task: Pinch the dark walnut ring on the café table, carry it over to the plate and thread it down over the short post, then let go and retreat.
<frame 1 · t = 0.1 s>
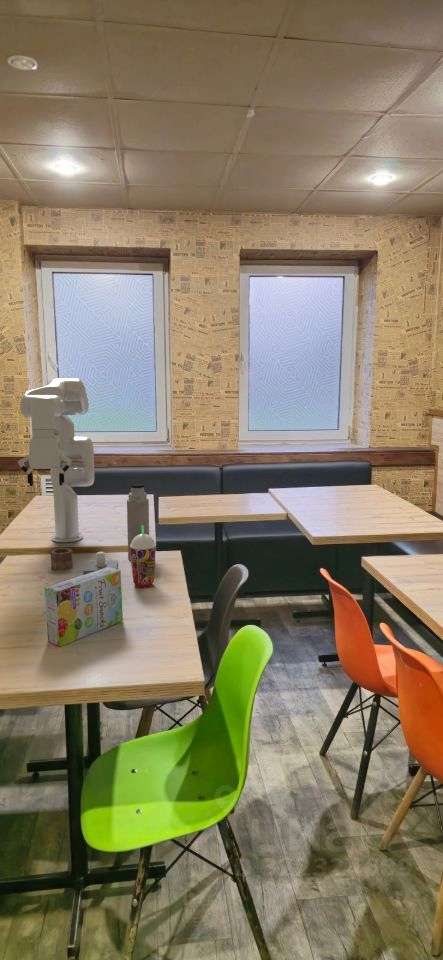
hand: (46, 485, 202), 31 cm above the table, tool pointing down, fingers open, 9 cm apart
post stand: (101, 569, 213), on the table
walnut ring: (62, 567, 215), on the table
thermos bottle: (138, 558, 226), on the table
snack box: (86, 632, 162), on the table
smoothie: (143, 585, 197), on the table
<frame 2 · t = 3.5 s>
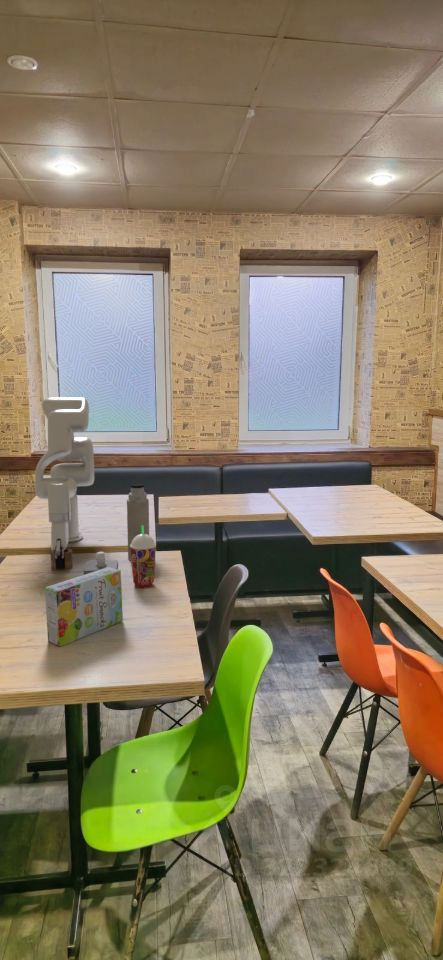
hand: (62, 565, 215), 1 cm above the table, tool pointing down, fingers closed on walnut ring, 7 cm apart
walnut ring: (62, 567, 215), on the table, touching gripper
everything else where it was.
when the fingers open (4 cm above the table, at t = 8.8 s): walnut ring drops 2 cm, resting on post stand.
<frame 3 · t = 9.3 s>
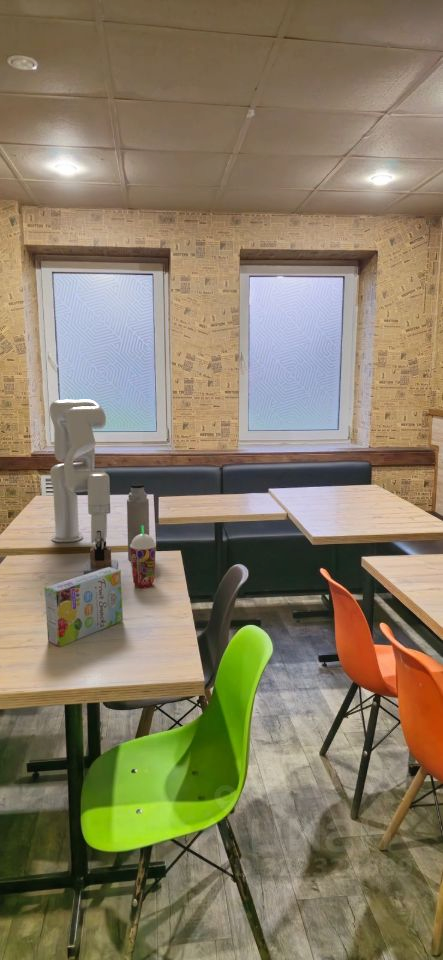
hand: (100, 556, 212), 5 cm above the table, tool pointing down, fingers open, 9 cm apart
walnut ring: (101, 565, 212), point 1 cm above the table, touching post stand
everything else where it was.
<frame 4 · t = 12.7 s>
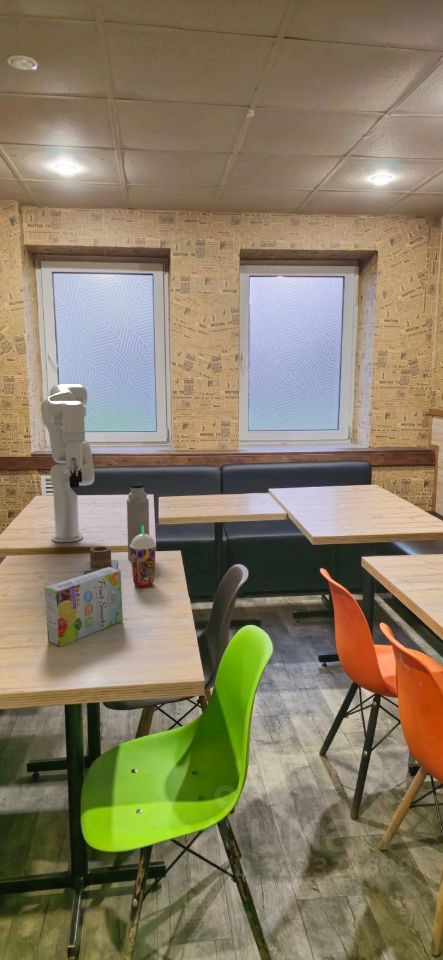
hand: (76, 484, 218), 28 cm above the table, tool pointing down, fingers open, 9 cm apart
nothing on the table moved.
at the end: walnut ring 0.1 cm off-centre on the post stand, point 1.5 cm above the post stand's base; walnut ring tilted 0°; the gripper is holding nothing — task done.
